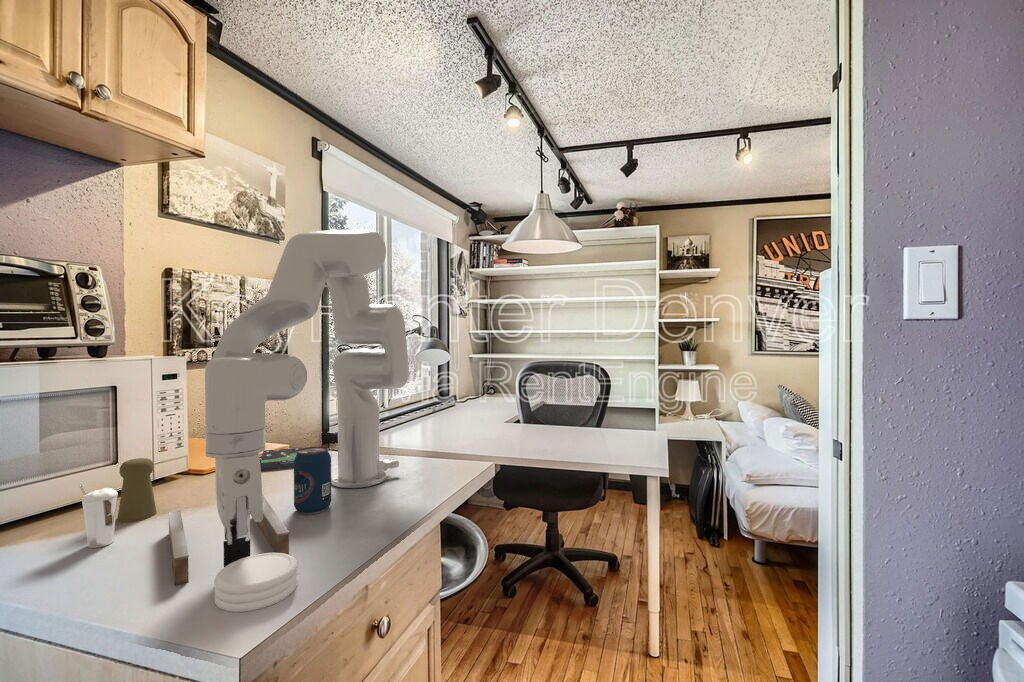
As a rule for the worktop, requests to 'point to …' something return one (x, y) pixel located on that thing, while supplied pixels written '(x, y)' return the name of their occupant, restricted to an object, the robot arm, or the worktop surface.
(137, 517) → the olive pepper shaker
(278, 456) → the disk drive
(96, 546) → the milkshake
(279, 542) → the chute
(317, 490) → the soda can
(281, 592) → the coaster
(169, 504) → the worktop surface
